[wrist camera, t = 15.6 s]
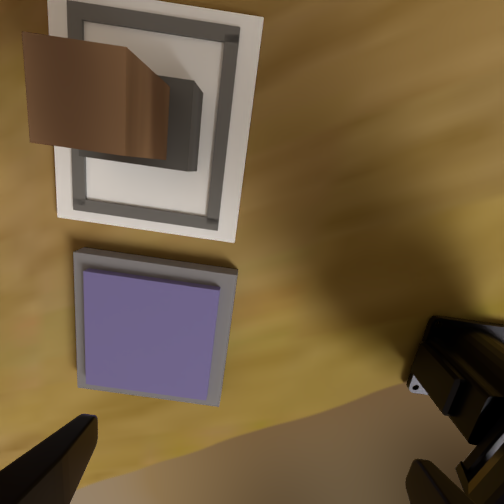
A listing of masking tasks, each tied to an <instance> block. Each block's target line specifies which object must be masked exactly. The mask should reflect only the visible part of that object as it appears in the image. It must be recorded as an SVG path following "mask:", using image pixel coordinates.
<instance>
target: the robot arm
mask: <svg viewBox="0 0 504 504" xmlns="http://www.w3.org/2000/svg"><path fill="white" fill-rule="evenodd" d="M438 321H439V323H438V324H437V325H435V324H436V322H438ZM414 385H415V386H414ZM407 387H408V389H409V390H410V391H411V392H413V393H419V394H426V395H429V396H430V398H431V399H432V400H433V401H434V403H435V404H436V406H437V407H438V408H439V410H440V411H441V412H442V414H443V415H445V416H449V418H450V419H451V420H452V422H453V423H454V424H455V425H456V427H457V428H458V429H459V431H460V432H461V433H462V435H463V436H464V437H465V439H466V440H467V441H468V443H469V444H472V445H477V446H476V447H475V448H474V450H472V452H471V453H470V454H469V455H468V457H467V458H466V459H465V460H464V461H463V462H462V461H461V462H460V463H459V464H458V465H457V467H456V468H455V469H456V472H457V474H458V477H459V480H460V482H461V485H462V488H463V490H464V492H463V491H462V490H461V489H460V488H459V487H457V486H456V485H455V484H454V483H453V482H452V481H451V480H450V479H449V478H448V477H447V476H446V475H445V474H444V473H443V472H442V471H441V470H440V469H439V468H438V467H436V466H435V465H434V464H433V463H432V462H431V461H429V460H423V459H415V460H413V462H412V464H411V467H410V469H409V472H408V474H407V477H406V490H407V494H408V497H409V501H410V504H504V325H500V324H493V323H486V322H479V321H472V320H465V319H458V318H451V317H444V316H433V317H431V318H430V319H429V321H428V324H427V327H426V330H425V333H424V336H423V338H422V341H421V343H420V345H419V348H418V351H417V354H416V357H415V360H414V362H413V365H412V368H411V372H410V375H409V378H408V381H407ZM97 439H98V420H97V416H95V415H89V414H81V415H79V416H77V417H76V418H75V419H73V420H72V421H70V422H69V423H68V424H66V425H65V426H63V427H62V428H60V429H59V430H58V431H56V432H55V433H53V434H52V435H50V436H49V437H48V438H46V439H45V440H43V441H42V442H41V443H39V444H38V445H36V446H35V447H33V448H32V449H31V450H29V451H28V452H26V453H25V454H24V455H22V456H21V457H19V458H18V459H16V460H15V461H14V462H12V463H11V464H9V465H8V466H6V467H5V468H4V469H2V470H1V471H0V504H70V502H71V500H72V497H73V495H74V493H75V491H76V489H77V487H78V484H79V482H80V480H81V478H82V475H83V473H84V471H85V469H86V467H87V464H88V462H89V460H90V458H91V456H92V453H93V451H94V449H95V447H96V444H97Z"/></svg>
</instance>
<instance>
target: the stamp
mask: <svg viewBox="0 0 504 504" xmlns="http://www.w3.org/2000/svg"><path fill="white" fill-rule="evenodd" d="M22 41H23V54H24V68H25V82H26V95H27V109H28V122H29V136H30V142H31V143H38V144H45V145H52V146H59V147H66V148H73V149H79V156H82V157H89V158H96V159H103V160H110V161H117V162H123V163H130V164H137V165H144V166H151V167H158V168H165V169H172V170H179V171H186V172H193V171H197V165H198V153H199V140H200V128H201V116H202V103H203V92H202V91H201V89H200V88H199V87H198V85H197V84H196V83H195V81H194V80H187V79H180V78H173V77H167V76H160V75H156V74H155V73H154V72H153V71H152V70H151V69H150V68H149V67H148V66H147V65H146V64H145V63H143V62H142V61H141V60H140V59H139V58H138V57H137V56H136V55H135V54H134V53H133V52H131V51H130V50H129V49H128V48H127V47H124V46H117V45H110V44H104V43H97V42H90V41H84V40H77V39H70V38H63V37H57V36H50V35H43V34H36V33H30V32H23V31H22Z"/></svg>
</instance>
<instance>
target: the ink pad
mask: <svg viewBox="0 0 504 504" xmlns="http://www.w3.org/2000/svg"><path fill="white" fill-rule="evenodd" d="M73 259H74V289H75V320H76V351H77V381H78V388H86V389H93V390H100V391H108V392H115V393H122V394H129V395H137V396H144V397H151V398H159V399H166V400H173V401H181V402H188V403H195V404H202V405H210V406H217V407H219V404H220V398H221V391H222V384H223V377H224V370H225V362H226V355H227V348H228V341H229V333H230V326H231V319H232V311H233V304H234V297H235V290H236V282H237V275H238V269H231V268H224V267H217V266H210V265H204V264H197V263H190V262H183V261H176V260H169V259H162V258H155V257H148V256H141V255H134V254H127V253H120V252H113V251H106V250H99V249H92V248H86V247H83V248H81V249H79V250H77V251H74V252H73Z"/></svg>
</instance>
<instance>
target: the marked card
mask: <svg viewBox="0 0 504 504" xmlns="http://www.w3.org/2000/svg"><path fill="white" fill-rule="evenodd" d="M47 4H48V26H49V35H50V36H57V37H63V38H70V39H77V40H84V41H90V42H97V43H104V44H110V45H117V46H124V47H127V48H128V49H129V50H130V51H131V52H133V53H134V54H135V55H136V56H137V57H138V58H139V59H140V60H141V61H142V62H143V63H145V64H146V65H147V66H148V67H149V68H150V69H151V70H152V71H153V72H154V73H155V74H156V75H160V76H167V77H173V78H180V79H187V80H194V81H195V83H196V84H197V85H198V87H199V88H200V89H201V91H202V92H203V103H202V116H201V128H200V140H199V153H198V165H197V171H193V172H186V171H179V170H172V169H165V168H158V167H151V166H144V165H137V164H130V163H123V162H117V161H110V160H103V159H96V158H89V157H82V156H79V149H73V148H66V147H59V146H54V153H55V175H56V196H57V217H60V218H66V219H73V220H80V221H87V222H94V223H101V224H108V225H115V226H121V227H128V228H135V229H142V230H149V231H156V232H163V233H170V234H177V235H183V236H190V237H197V238H204V239H211V240H218V241H225V242H232V243H234V242H235V236H236V229H237V221H238V213H239V206H240V198H241V190H242V183H243V175H244V167H245V160H246V152H247V144H248V137H249V129H250V121H251V114H252V106H253V98H254V91H255V83H256V75H257V68H258V60H259V52H260V44H261V37H262V29H263V21H264V17H259V16H253V15H246V14H240V13H234V12H227V11H221V10H215V9H208V8H202V7H195V6H189V5H183V4H176V3H170V2H164V1H157V0H47Z"/></svg>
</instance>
